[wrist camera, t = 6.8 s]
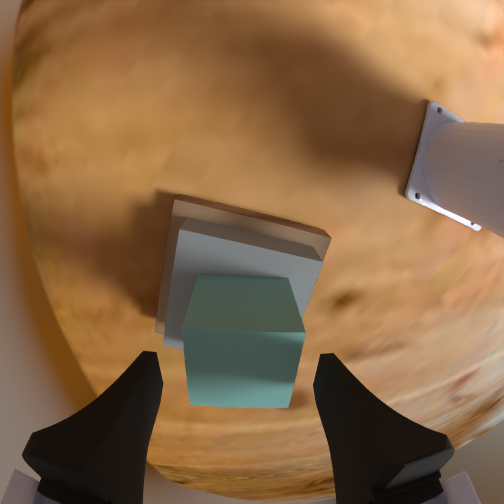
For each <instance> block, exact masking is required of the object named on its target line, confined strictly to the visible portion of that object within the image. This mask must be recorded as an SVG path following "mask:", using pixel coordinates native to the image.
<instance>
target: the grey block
mask: <svg viewBox="0 0 504 504" xmlns="http://www.w3.org/2000/svg"><path fill="white" fill-rule="evenodd" d="M322 265H323V261H322V259H321V258H320V256H319V255H318V253H317V252H316V250H315V249H314V247H313V246H309V245H305V244H300V243H296V242H292V241H288V240H284V239H280V238H276V237H271V236H267V235H263V234H259V233H254V232H250V231H246V230H242V229H237V228H233V227H229V226H224V225H220V224H215V223H211V222H207V221H202V220H198V219H193V218H189V217H187V219H186V220H185V222H184V223H183V225H182V226H181V228H180V230H179V235H178V241H177V247H176V253H175V259H174V265H173V271H172V278H171V285H170V292H169V299H168V307H167V315H166V323H165V331H164V341H163V346H167V347H171V348H175V349H179V350H184V345H183V332H182V326H183V323H184V319H185V316H186V313H187V309H188V306H189V302H190V299H191V296H192V292H193V289H194V286H195V283H196V279H197V276H198V274H202V275H220V276H239V277H260V278H283V279H289V282H290V285H291V288H292V291H293V294H294V297H295V300H296V303H297V307H298V310H299V313H300V316H301V319H302V317H303V315H304V312H305V310H306V307H307V304H308V302H309V299H310V297H311V294H312V292H313V289H314V286H315V284H316V281H317V278H318V276H319V273H320V270H321V268H322Z"/></svg>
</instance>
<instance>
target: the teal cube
mask: <svg viewBox="0 0 504 504" xmlns="http://www.w3.org/2000/svg"><path fill="white" fill-rule="evenodd" d="M182 332H183V345H184V356H185V367H186V376H187V386H188V394H189V402H190V404H191V405H202V406H216V407H237V408H288V407H289V403H290V399H291V395H292V391H293V387H294V382H295V378H296V374H297V370H298V365H299V361H300V357H301V352H302V347H303V343H304V338H305V333H306V332H305V329H304V326H303V322H302V319H301V316H300V313H299V310H298V307H297V303H296V300H295V297H294V294H293V291H292V288H291V285H290V282H289V279H283V278H260V277H239V276H220V275H202V274H198V276H197V279H196V283H195V286H194V289H193V292H192V296H191V299H190V302H189V306H188V309H187V313H186V316H185V319H184V323H183V326H182Z"/></svg>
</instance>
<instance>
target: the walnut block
mask: <svg viewBox="0 0 504 504" xmlns="http://www.w3.org/2000/svg"><path fill="white" fill-rule="evenodd" d="M187 217H189V218H193V219H198V220H202V221H207V222H211V223H215V224H220V225H224V226H229V227H233V228H237V229H242V230H246V231H250V232H254V233H259V234H263V235H267V236H271V237H276V238H280V239H284V240H288V241H292V242H296V243H300V244H305V245H309V246H313V247H314V249H315V250H316V252H317V253H318V255H319V256H320V258H321V259H322V261H323V260H324V257H325V255H326V252H327V249H328V246H329V244H330V241H331V237H330V236H329V235H328V234H327V233H326V232H325V230H323V229H319V228H315V227H312V226H308V225H304V224H300V223H297V222H293V221H289V220H285V219H281V218H278V217H274V216H270V215H266V214H262V213H258V212H254V211H250V210H246V209H242V208H237V207H233V206H229V205H225V204H221V203H217V202H212V201H208V200H204V199H199V198H195V197H190V196H186V195H181V194H180V195H179V196H178V197H177V198H176V199H174V204H173V210H172V215H171V220H170V226H169V232H168V237H167V243H166V250H165V256H164V262H163V269H162V276H161V284H160V291H159V299H158V308H157V317H156V326H155V332H156V333H160V334H164V331H165V323H166V315H167V307H168V299H169V292H170V285H171V278H172V271H173V265H174V259H175V253H176V247H177V241H178V235H179V230H180V228H181V226H182V225H183V223H184V222H185V220H186V219H187Z"/></svg>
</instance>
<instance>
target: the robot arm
mask: <svg viewBox="0 0 504 504" xmlns="http://www.w3.org/2000/svg"><path fill="white" fill-rule="evenodd" d="M437 109H439V113H438V111H437ZM416 193H418V196H417V198H415V194H416ZM405 196H406V198H408V199H409V200H412V201H414V202H416V203H419V204H421V205H423V206H425V207H428V208H430V209H432V210H434V211H437V212H439V213H441V214H443V215H445V216H447V217H449V218H452V219H454V220H456V221H458V222H460V223H462V224H464V225H466V226H468V227H470V228H472V229H474V230H476V231H479V230H480V229H481V227H483V228H485V229H487V230H489V231H491V232H493V233H495V234H497V235H499V236H501V237H503V238H504V124H495V123H477V122H465V121H463V120H462V119H461V118H459V117H458V116H456V115H455V114H454V113H452V112H451V111H449V110H448V109H446V108H445V107H443V106H442V105H440V104H438V103H437V102H435V101H432V102H429V103H428V106H427V111H426V116H425V120H424V125H423V129H422V133H421V137H420V141H419V145H418V149H417V153H416V156H415V160H414V164H413V167H412V171H411V174H410V177H409V181H408V184H407V187H406V190H405ZM313 388H314V394H315V400H316V405H317V408H318V412H319V415H320V418H321V422H322V425H323V428H324V431H325V435H326V438H327V441H328V445H329V449H330V455H331V461H332V467H333V474H334V482H335V492H336V503H337V504H481V503H480V501H479V498H478V496H477V494H476V492H475V490H474V487H473V485H472V483H471V481H470V479H469V477H468V475H467V473H466V471H463V472H461V473H459V474H457V475H455V476H453V477H451V478H449V479H447V480H445V481H443V482H442V483H440V481H439V478H440V477H441V474H440V471H439V470H440V469H441V468H442V467H443V466H444V465H445V464H446V463H447V462H448V461H449V460H450V459H451V457H452V456H453V454H454V451H455V450H454V448H453V446H452V444H451V442H450V440H449V439H448V437H447V435H445V434H442V433H439V432H436V431H434V430H431V429H428V428H426V427H424V426H422V425H419V424H417V423H415V422H413V421H411V420H409V419H408V418H406V417H404V416H403V415H401V414H399V413H398V412H396V411H394V410H393V409H391V408H390V407H389V406H387V405H386V404H385V403H383V402H382V401H381V400H379V399H378V398H377V397H376V396H375V395H373V394H372V393H371V392H370V391H369V390H368V389H367V388H366V387H365V386H364V385H363V384H362V383H361V382H360V381H359V380H358V379H357V378H356V377H355V376H354V375H353V374H352V373H351V372H350V371H349V370H348V369H347V368H346V367H345V365H344V364H343V363H342V362H341V361H340V360H339V359H338V358H337V356H336V355H335V354H334V353H328V354H320V358H319V362H318V367H317V371H316V375H315V379H314V383H313ZM162 389H163V380H162V376H161V371H160V367H159V362H158V358H157V353H156V352H150V351H143V352H142V353H141V354H140V355H139V356H138V357H137V358H136V359H135V361H134V362H133V363H132V364H131V365H130V366H129V367H128V368H127V369H126V371H125V372H124V373H123V374H122V375H121V376H120V377H119V378H118V379H117V380H116V381H115V382H114V383H113V384H112V385H111V386H110V387H109V388H108V389H107V390H106V391H104V392H103V393H102V394H101V395H100V396H99V397H98V398H96V399H95V400H94V401H93V402H91V403H90V404H89V405H87V406H86V407H84V408H83V409H81V410H80V411H78V412H77V413H75V414H73V415H72V416H70V417H68V418H66V419H65V420H63V421H61V422H59V423H57V424H54V425H52V426H50V427H47V428H44V429H42V430H39V431H36V432H33V433H32V435H31V436H30V439H29V440H28V443H27V444H26V447H25V449H24V451H23V453H22V457H23V459H24V461H26V463H27V464H28V465H29V466H30V467H31V468H32V469H33V470H34V471H35V472H36V473H37V474H39V476H40V477H41V480H40V482H38V481H37V480H35V479H34V478H32V477H30V476H28V475H26V474H24V473H22V472H20V471H18V470H16V469H14V471H13V474H12V476H11V478H10V481H9V483H8V486H7V488H6V491H5V493H4V496H3V498H2V501H1V504H143V487H144V474H145V464H146V457H147V450H148V445H149V441H150V437H151V434H152V430H153V426H154V423H155V420H156V416H157V413H158V409H159V406H160V402H161V395H162Z"/></svg>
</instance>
